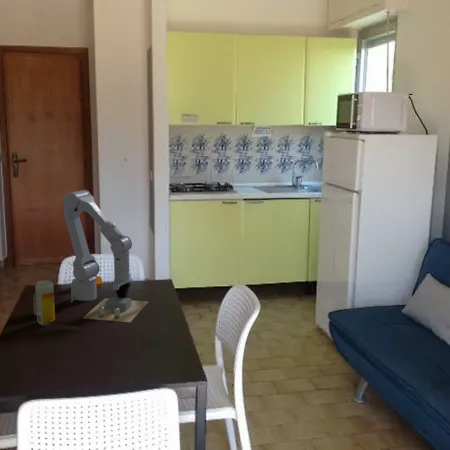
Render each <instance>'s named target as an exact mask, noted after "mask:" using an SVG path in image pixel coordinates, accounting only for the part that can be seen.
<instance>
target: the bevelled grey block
mask: <svg viewBox="0 0 450 450" xmlns="http://www.w3.org/2000/svg"><path fill="white" fill-rule="evenodd" d="M108 299H109V300H107V301H106V310H114V308H120V311H127V310H128V309H129V308H130V307H131V300H132V298H129V297H127V298H119V297H118V296H117V297H116V296H111V297H110V298H108Z"/></svg>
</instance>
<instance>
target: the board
mask: <svg viewBox="0 0 450 450" xmlns="http://www.w3.org/2000/svg"><path fill="white" fill-rule="evenodd" d="M109 299H110V298H109V297H108V298H107V297H106V298H105V297H104V299H102V300H101V301H100V302H99V303H98V304H97V305H95V306H94V308H92V309H91V310H89V312H88V313H87V314H85V315H84V316H83V317H82V319H84V320H85V319H87V320H98V321H99V320H100V321H111V322H121V323H122V322H123V323H124V322H125V323H132V321H133V320H134V319H135V318H136V317H137V315H138V314H139V313H140V312H141V311H142V310H143V308H145V307H146V305H148V303H149V301H145V300H132V299H131V307H130V308H129V309H128V310H127V311H120V318H119V319H115V318H114V310H106V301H107V300H109ZM101 306H102V307H104V317H102V318H100V317H99V316H98V307H101Z"/></svg>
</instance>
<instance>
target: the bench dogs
mask: <svg viewBox="0 0 450 450" xmlns="http://www.w3.org/2000/svg"><path fill="white" fill-rule="evenodd" d="M98 316H99V317H100V318H102V317H104V307H102V306H101V307H98ZM114 318H115V319H119V318H120V308H114Z"/></svg>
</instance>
